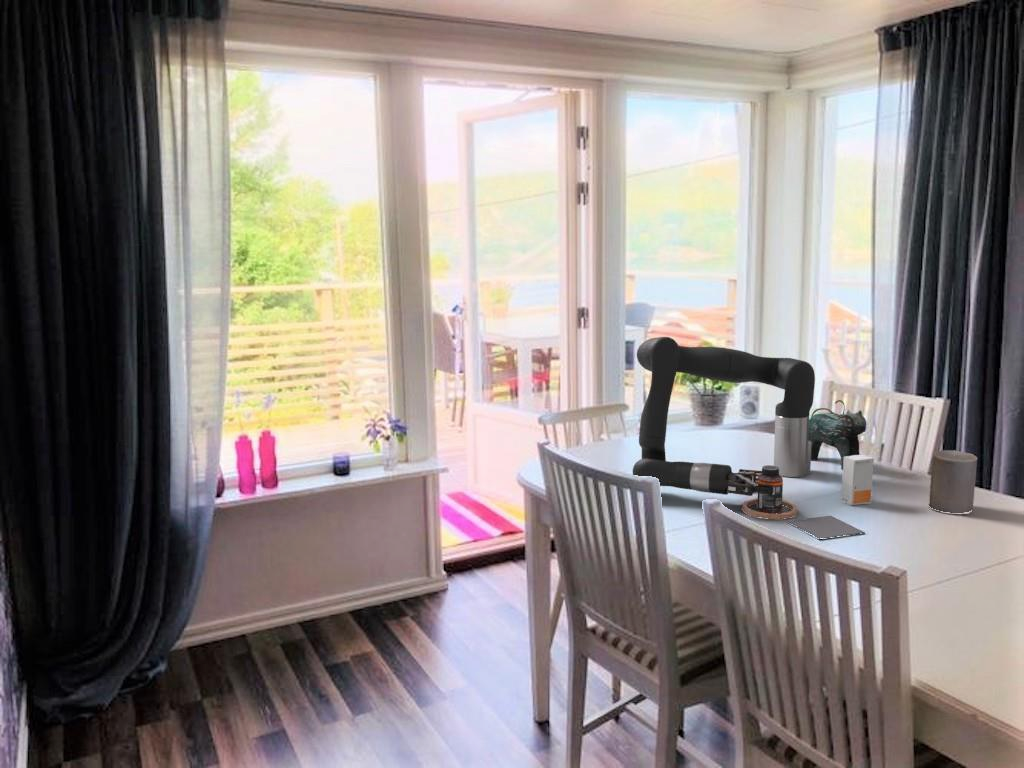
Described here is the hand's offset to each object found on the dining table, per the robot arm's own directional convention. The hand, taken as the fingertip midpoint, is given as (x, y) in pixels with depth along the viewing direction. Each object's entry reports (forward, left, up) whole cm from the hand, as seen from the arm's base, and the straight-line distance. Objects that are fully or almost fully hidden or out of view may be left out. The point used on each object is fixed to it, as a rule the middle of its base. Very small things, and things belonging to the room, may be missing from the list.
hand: (776, 485), depth 197 cm
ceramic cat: (-39, -30, -7) cm, 50 cm away
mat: (-4, +14, -7) cm, 16 cm away
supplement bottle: (+1, -1, -7) cm, 7 cm away
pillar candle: (-41, +13, -7) cm, 44 cm away
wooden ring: (+1, -1, -7) cm, 7 cm away
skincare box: (-23, +1, -7) cm, 24 cm away
